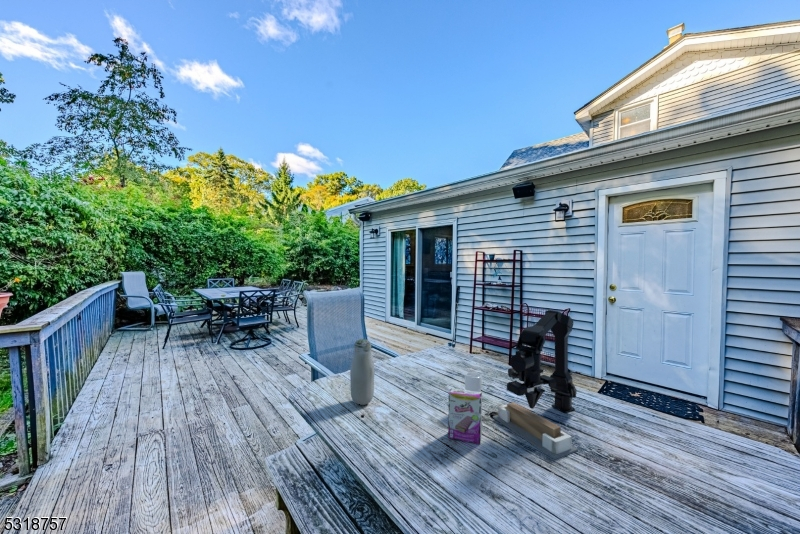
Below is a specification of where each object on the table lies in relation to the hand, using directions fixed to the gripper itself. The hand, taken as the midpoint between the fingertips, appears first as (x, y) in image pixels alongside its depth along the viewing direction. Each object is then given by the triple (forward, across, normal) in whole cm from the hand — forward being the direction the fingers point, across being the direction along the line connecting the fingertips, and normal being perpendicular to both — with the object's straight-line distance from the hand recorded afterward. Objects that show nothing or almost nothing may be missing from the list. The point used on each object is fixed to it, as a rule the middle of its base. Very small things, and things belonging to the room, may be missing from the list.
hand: (531, 408), depth 110 cm
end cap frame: (+9, 0, 0) cm, 9 cm away
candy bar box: (+9, +24, -7) cm, 27 cm away
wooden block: (+8, 0, 0) cm, 8 cm away
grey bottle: (+9, +49, -47) cm, 69 cm away
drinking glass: (+9, +9, -22) cm, 25 cm away
